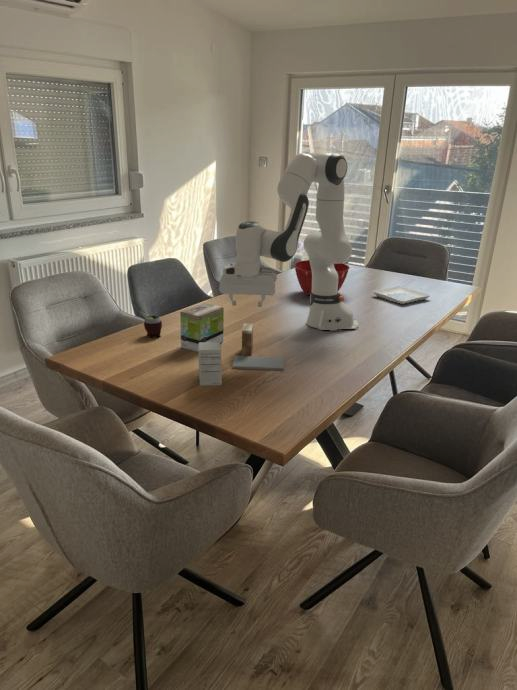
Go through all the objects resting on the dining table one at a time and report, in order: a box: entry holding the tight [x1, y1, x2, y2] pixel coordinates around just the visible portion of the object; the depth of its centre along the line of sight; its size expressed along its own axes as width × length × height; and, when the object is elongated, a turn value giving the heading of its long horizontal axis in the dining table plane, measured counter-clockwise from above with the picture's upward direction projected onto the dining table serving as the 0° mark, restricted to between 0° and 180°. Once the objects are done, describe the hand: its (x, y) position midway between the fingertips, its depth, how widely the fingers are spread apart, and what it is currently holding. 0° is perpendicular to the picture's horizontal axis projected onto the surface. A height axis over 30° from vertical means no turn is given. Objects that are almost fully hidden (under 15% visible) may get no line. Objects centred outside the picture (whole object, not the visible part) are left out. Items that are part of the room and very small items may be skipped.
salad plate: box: [371, 285, 431, 305], centre depth 271 cm, size 21×21×3 cm
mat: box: [231, 355, 285, 371], centre depth 190 cm, size 18×10×1 cm, turn 86°
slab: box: [241, 323, 254, 356], centre depth 199 cm, size 4×8×10 cm, turn 176°
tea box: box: [179, 302, 225, 353], centre depth 204 cm, size 15×10×15 cm, turn 148°
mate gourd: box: [143, 298, 166, 339], centre depth 213 cm, size 8×8×15 cm
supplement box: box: [197, 342, 223, 387], centre depth 174 cm, size 7×7×13 cm
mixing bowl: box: [293, 259, 351, 296], centre depth 274 cm, size 28×28×16 cm
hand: (247, 305), depth 194 cm, fingers open, 8 cm apart
